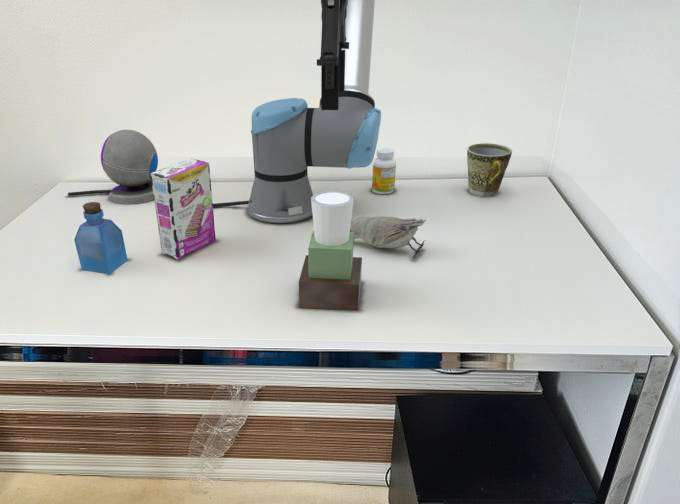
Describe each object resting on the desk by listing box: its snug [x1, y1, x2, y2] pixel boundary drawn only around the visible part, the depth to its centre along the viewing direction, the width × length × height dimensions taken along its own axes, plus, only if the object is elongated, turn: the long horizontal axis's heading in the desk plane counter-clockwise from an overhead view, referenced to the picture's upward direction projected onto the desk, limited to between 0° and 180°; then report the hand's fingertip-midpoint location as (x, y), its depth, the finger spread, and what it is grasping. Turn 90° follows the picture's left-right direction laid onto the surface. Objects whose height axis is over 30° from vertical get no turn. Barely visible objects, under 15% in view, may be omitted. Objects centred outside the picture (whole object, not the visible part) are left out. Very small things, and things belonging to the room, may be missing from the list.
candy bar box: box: [150, 158, 217, 261], centre depth 119 cm, size 11×5×16 cm, turn 145°
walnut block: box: [298, 254, 363, 311], centre depth 106 cm, size 10×10×5 cm
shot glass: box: [311, 190, 355, 246], centre depth 100 cm, size 7×7×7 cm
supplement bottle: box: [371, 147, 397, 195], centre depth 146 cm, size 5×5×10 cm
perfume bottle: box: [73, 201, 129, 275], centre depth 115 cm, size 6×6×12 cm
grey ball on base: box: [100, 129, 159, 205], centre depth 145 cm, size 13×13×15 cm
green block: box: [307, 229, 355, 280], centre depth 103 cm, size 7×7×6 cm
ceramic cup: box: [466, 142, 513, 197], centre depth 143 cm, size 13×10×10 cm
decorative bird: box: [350, 215, 427, 259], centre depth 120 cm, size 5×16×7 cm, turn 64°
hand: (333, 99), depth 104 cm, fingers open, 13 cm apart
